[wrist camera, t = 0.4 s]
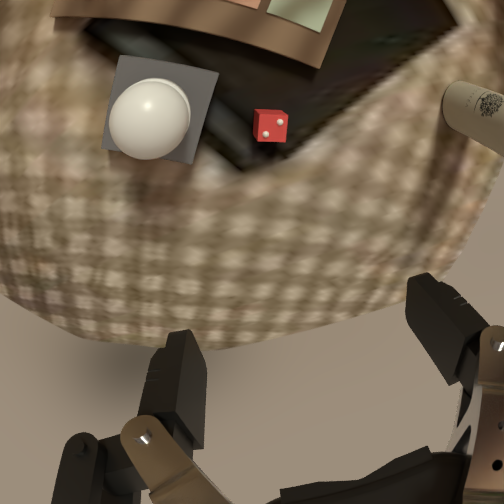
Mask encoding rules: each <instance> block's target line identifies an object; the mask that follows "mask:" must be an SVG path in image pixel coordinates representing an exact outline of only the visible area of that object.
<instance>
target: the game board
mask: <svg viewBox="0 0 504 504" xmlns="http://www.w3.org/2000/svg"><path fill="white" fill-rule="evenodd" d="M345 3H346V0H55V1H54V4H53V7H52V10H51V13H50V17H55V18H56V17H85V18H107V19H120V20H130V21H139V22H147V23H154V24H161V25H167V26H173V27H178V28H184V29H189V30H194V31H198V32H203V33H207V34H211V35H216V36H220V37H223V38H227V39H231V40H235V41H238V42H242V43H245V44H249V45H252V46H255V47H258V48H261V49H265V50H268V51H271V52H274V53H276V54H279V55H282V56H285V57H288V58H290V59H293V60H296V61H298V62H301V63H304V64H306V65H309V66H311V67H313V68H318V69H320V67H321V64H322V61H323V59H324V56H325V54H326V51H327V49H328V46H329V44H330V41H331V39H332V36H333V33H334V31H335V28H336V26H337V23H338V21H339V18H340V16H341V13H342V11H343V8H344V6H345Z"/></svg>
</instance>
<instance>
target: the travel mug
mask: <svg viewBox="0 0 504 504" xmlns="http://www.w3.org/2000/svg"><path fill="white" fill-rule="evenodd" d="M443 114H444V118H445V120H446V122H447V124H448V125H449V126H450V127H451V128H452V129H454V130H456V131H458V132H460V133H462V134H464V135H466V136H468V137H470V138H471V139H473V140H475V141H477V142H479V143H481V144H482V145H484V146H486V147H488V148H490V149H491V150H493V151H495V152H496V153H498V154H500V155H501V156H503V157H504V95H502V94H499V93H497V92H494V91H491V90H488V89H486V88H483V87H480V86H477V85H474V84H471V83H467V82H464V81H456V82H454V83H452V84H451V85H450V86H449V87H448V89H447V90H446V92H445V95H444V99H443Z"/></svg>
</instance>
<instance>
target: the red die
mask: <svg viewBox="0 0 504 504" xmlns="http://www.w3.org/2000/svg"><path fill="white" fill-rule="evenodd" d="M287 122H288V115H287V114H285V113H284V112H283V111H281V110H267V109H254V123H253V135H254V137H255V138H256V140H257V141H265V142H286V132H287Z"/></svg>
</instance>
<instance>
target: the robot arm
mask: <svg viewBox="0 0 504 504" xmlns="http://www.w3.org/2000/svg"><path fill="white" fill-rule="evenodd" d="M405 315H406V319H407V323H408V325H409V326H410V328H411V329H412V331H413V332H414V333H415V335H416V337H417V338H418V339H419V341H420V342H421V344H422V345H423V347H424V348H425V350H426V351H427V353H428V354H429V356H430V357H431V359H432V360H433V362H434V363H435V365H436V366H437V368H438V369H439V371H440V373H441V374H442V376H443V377H444V379H445V380H446V382H447V384H448V385H449V386H450V385H452V384H454V383H456V382H458V381H460V383H461V384H462V387H461V390H460V395H459V402H458V407H457V413H456V418H455V423H454V428H453V432H452V435H451V438H450V441H449V443H448V445H447V448H446V451H445V452H433V453H431V452H430V450H429V448H428V446H425V447H423V448H420V449H418V450H416V451H413V452H411V453H408V454H406V455H403V456H401V457H398V458H395V459H394V460H392V461H391V462H389V463H387V464H386V465H384V466H383V467H381V468H380V469H378V470H376V471H374V472H373V473H371V474H369V475H368V476H366V477H364V478H362V479H359V480H351V481H329V482H315V483H310V484H305V485H300V486H296V487H290V488H284V489H280V495H281V497H279V498H277V499H274V500H273V501H270V502H268V503H267V504H504V327H503V326H498V325H494V326H490V325H489V324H488V323H487V322H486V321H485V320H484V319H483V318H482V316H480V314H479V313H478V312H477V311H476V310H475V309H474V308H473V307H472V306H471V305H470V304H469V303H467V301H466V300H465V299H464V298H463V297H461V295H460V294H459V293H458V292H457V291H456V290H455V289H454V288H453V287H452V286H450V285H447V284H445V283H443V282H438V281H437V280H436V279H435V278H434V277H433V276H432V275H431V274H429V273H427V272H426V273H423V274H419V275H416V276H413V277H410V278H409V279H408V282H407V296H406V308H405ZM206 386H207V368H206V363H205V360H204V358H203V355H202V353H201V351H200V349H199V346H198V344H197V342H196V340H195V337H194V335H193V333H192V331H191V330H190V329H187V330H182V331H176V332H170V333H169V334H168V338H167V342H166V347H165V348H159V349H158V350H157V351H156V353H155V354H154V356H153V357H152V358H151V361H150V365H149V368H148V373H147V376H146V382H145V385H144V389H143V393H142V397H141V401H140V406H139V411H138V414H137V417H134V418H133V419H131V420H129V421H128V422H127V423H126V424H125V425H124V427H123V429H122V431H121V434H119V435H115V436H112V437H109V438H105V439H101V440H97V439H96V438H95V437H94V436H93V435H92V434H90V433H86V432H82V433H78V434H75V435H74V436H72V437H71V438H70V439H69V440H68V441H67V443H66V444H65V447H64V450H63V454H62V458H61V461H60V465H59V469H58V474H57V478H56V483H55V487H54V492H53V497H52V502H51V504H140V502H141V490H145V489H150V492H151V493H149V497H150V499H151V501H152V503H153V504H234V503H233V502H232V501H230V499H229V498H228V497H227V496H226V495H225V494H223V492H221V490H220V489H219V488H218V487H217V486H216V485H215V484H214V483H213V482H212V481H211V480H210V479H209V478H208V477H207V476H206V475H205V473H204V472H203V471H202V470H201V469H200V468H199V467H198V466H197V465H196V463H195V462H194V461H193V450H197V449H204V427H205V405H206Z"/></svg>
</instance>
